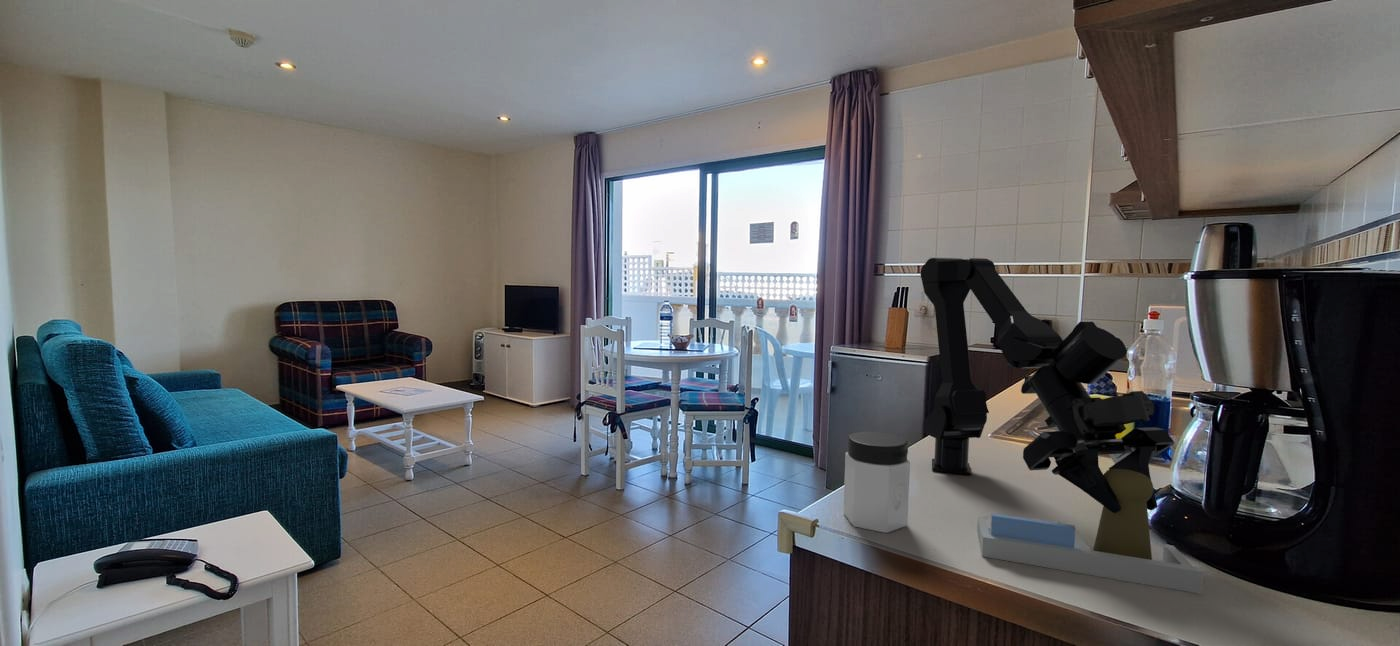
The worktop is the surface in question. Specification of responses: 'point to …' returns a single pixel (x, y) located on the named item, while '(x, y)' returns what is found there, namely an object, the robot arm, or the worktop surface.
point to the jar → (876, 481)
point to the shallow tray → (1080, 553)
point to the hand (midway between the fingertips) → (1135, 510)
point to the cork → (1126, 516)
